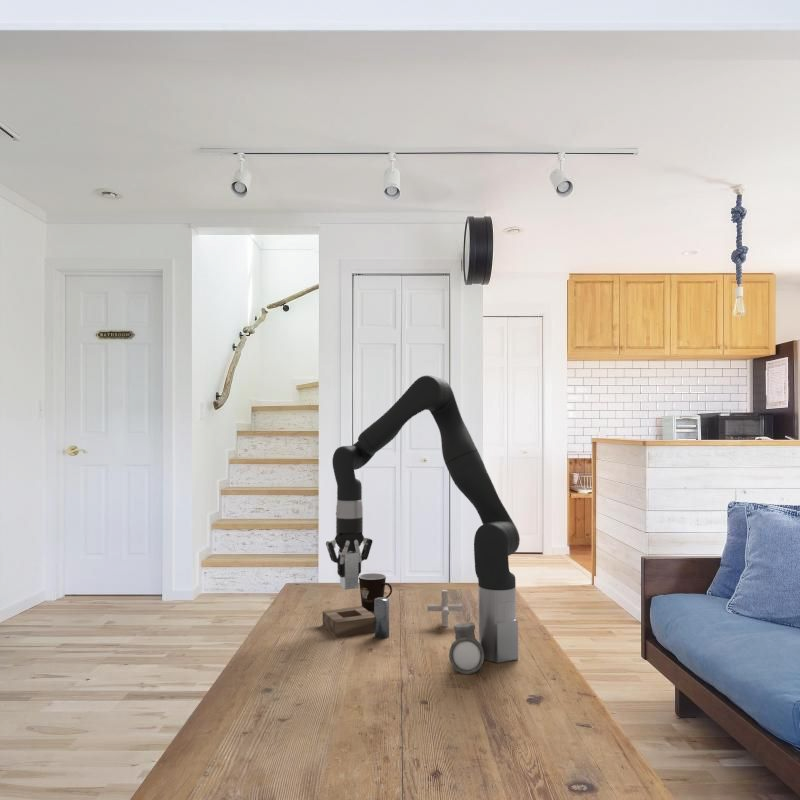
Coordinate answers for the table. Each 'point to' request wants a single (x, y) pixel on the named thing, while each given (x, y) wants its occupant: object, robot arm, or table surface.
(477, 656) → the pipe fitting
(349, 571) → the square bit
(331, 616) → the socket block
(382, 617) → the round bit
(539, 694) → the table surface
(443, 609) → the pipe connector
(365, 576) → the coffee mug
